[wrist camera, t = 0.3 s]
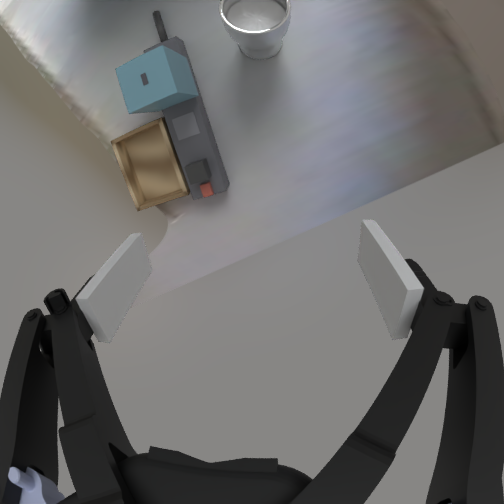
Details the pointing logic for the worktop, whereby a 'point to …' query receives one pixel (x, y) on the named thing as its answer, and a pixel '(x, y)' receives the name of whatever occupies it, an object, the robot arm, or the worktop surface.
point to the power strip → (193, 133)
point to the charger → (156, 81)
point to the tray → (150, 165)
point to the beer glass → (256, 25)
